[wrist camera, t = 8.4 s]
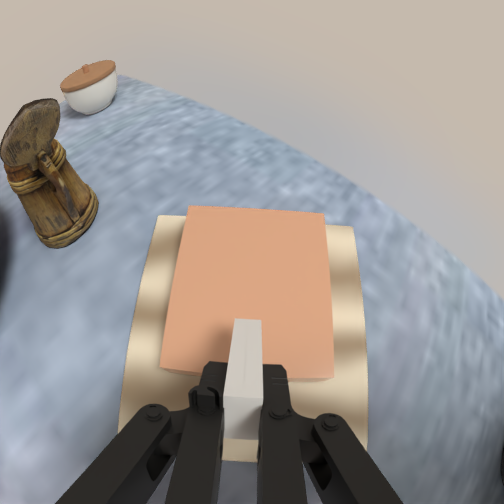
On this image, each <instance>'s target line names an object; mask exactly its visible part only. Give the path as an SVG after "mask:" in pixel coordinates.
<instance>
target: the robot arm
mask: <svg viewBox="0 0 504 504" xmlns="http://www.w3.org/2000/svg"><path fill="white" fill-rule="evenodd" d="M188 397H189V407H188V408H186V409H184V410H178V411H169V410H168V409H167V408H166V407H165V406H163V405H160V404H148V405H145V406H143V407H142V408H140V409H139V410H138V412H137V413H136V414H135V415H134V416H133V417H132V418H131V420H130V421H129V422H128V423H127V424H126V425H125V426H124V427H123V429H122V430H121V431H120V432H119V433H118V434H117V435H116V437H115V438H114V439H113V440H112V441H111V442H110V443H109V444H108V446H107V447H106V448H105V449H104V450H103V451H102V452H101V453H100V455H99V456H98V457H97V458H96V459H95V460H94V461H93V462H92V464H91V465H90V466H89V467H88V468H87V469H86V470H85V471H84V472H83V474H82V475H81V476H80V477H79V478H78V479H77V480H76V481H75V482H74V483H73V485H72V486H71V487H70V488H69V489H68V490H67V491H66V492H65V493H64V494H63V495H62V497H61V498H60V499H59V500H58V501H57V502H56V503H55V504H146V503H147V501H148V500H149V498H150V497H151V495H152V494H153V492H154V491H155V489H156V487H157V486H158V484H159V483H160V481H161V480H162V478H163V477H164V475H165V474H166V472H167V470H168V469H169V467H170V466H171V464H172V463H173V461H174V459H175V458H176V461H175V465H174V469H173V473H172V477H171V481H170V485H169V489H168V493H167V497H166V501H165V504H217V499H218V490H219V481H220V472H221V463H222V455H223V438H228V439H244V440H258V450H257V458H256V459H257V504H307V497H306V489H305V481H304V473H303V465H302V462H303V464H304V466H305V468H306V470H307V472H308V474H309V476H310V478H311V480H312V483H313V485H314V487H315V489H316V491H317V493H318V495H319V497H320V499H321V501H322V503H323V504H403V502H402V501H401V500H400V498H399V497H398V495H397V494H396V493H395V491H394V490H393V488H392V487H391V486H390V484H389V483H388V481H387V480H386V478H385V477H384V476H383V474H382V473H381V471H380V470H379V468H378V467H377V466H376V464H375V463H374V461H373V460H372V458H371V457H370V456H369V454H368V453H367V451H366V450H365V448H364V447H363V445H362V444H361V443H360V441H359V440H358V438H357V437H356V435H355V434H354V432H353V431H352V429H351V428H350V427H349V425H348V424H347V422H346V421H345V420H344V419H343V418H342V417H341V416H339V415H337V414H333V413H324V414H321V415H319V416H318V417H317V418H316V419H312V418H308V417H304V416H301V415H299V414H298V413H296V412H295V411H294V409H293V408H292V406H291V399H290V392H289V385H288V379H287V371H286V370H285V368H284V367H283V366H282V365H281V364H262V329H261V320H254V319H237V318H235V321H234V328H233V334H232V341H231V347H230V354H229V361H228V363H227V362H215V361H209V362H208V363H207V364H206V365H205V366H204V368H203V371H202V375H201V379H200V383H199V385H198V386H195V387H193V388H192V389H190V391H189V392H188ZM176 456H177V457H176ZM502 481H503V484H504V450H503V456H502Z"/></svg>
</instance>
